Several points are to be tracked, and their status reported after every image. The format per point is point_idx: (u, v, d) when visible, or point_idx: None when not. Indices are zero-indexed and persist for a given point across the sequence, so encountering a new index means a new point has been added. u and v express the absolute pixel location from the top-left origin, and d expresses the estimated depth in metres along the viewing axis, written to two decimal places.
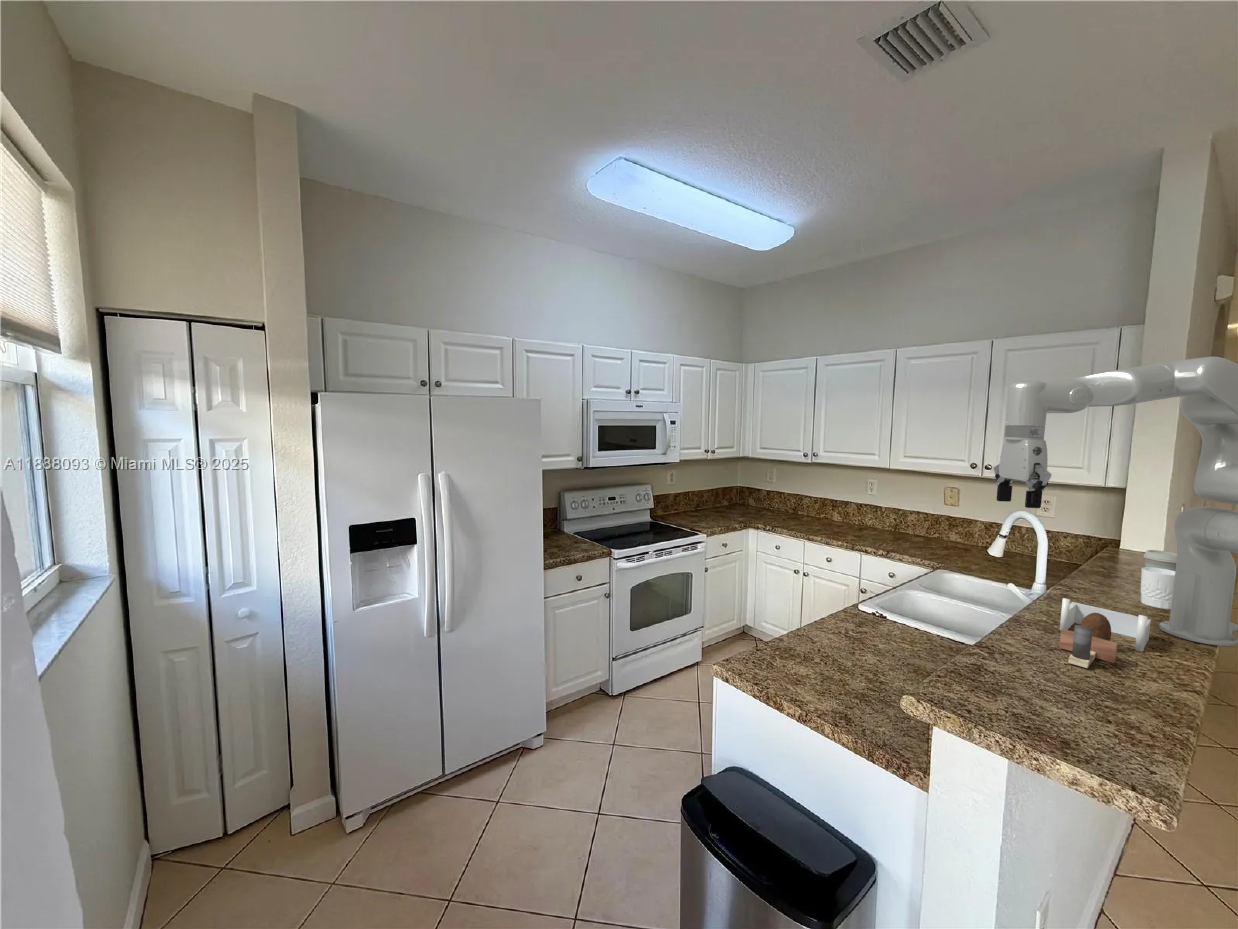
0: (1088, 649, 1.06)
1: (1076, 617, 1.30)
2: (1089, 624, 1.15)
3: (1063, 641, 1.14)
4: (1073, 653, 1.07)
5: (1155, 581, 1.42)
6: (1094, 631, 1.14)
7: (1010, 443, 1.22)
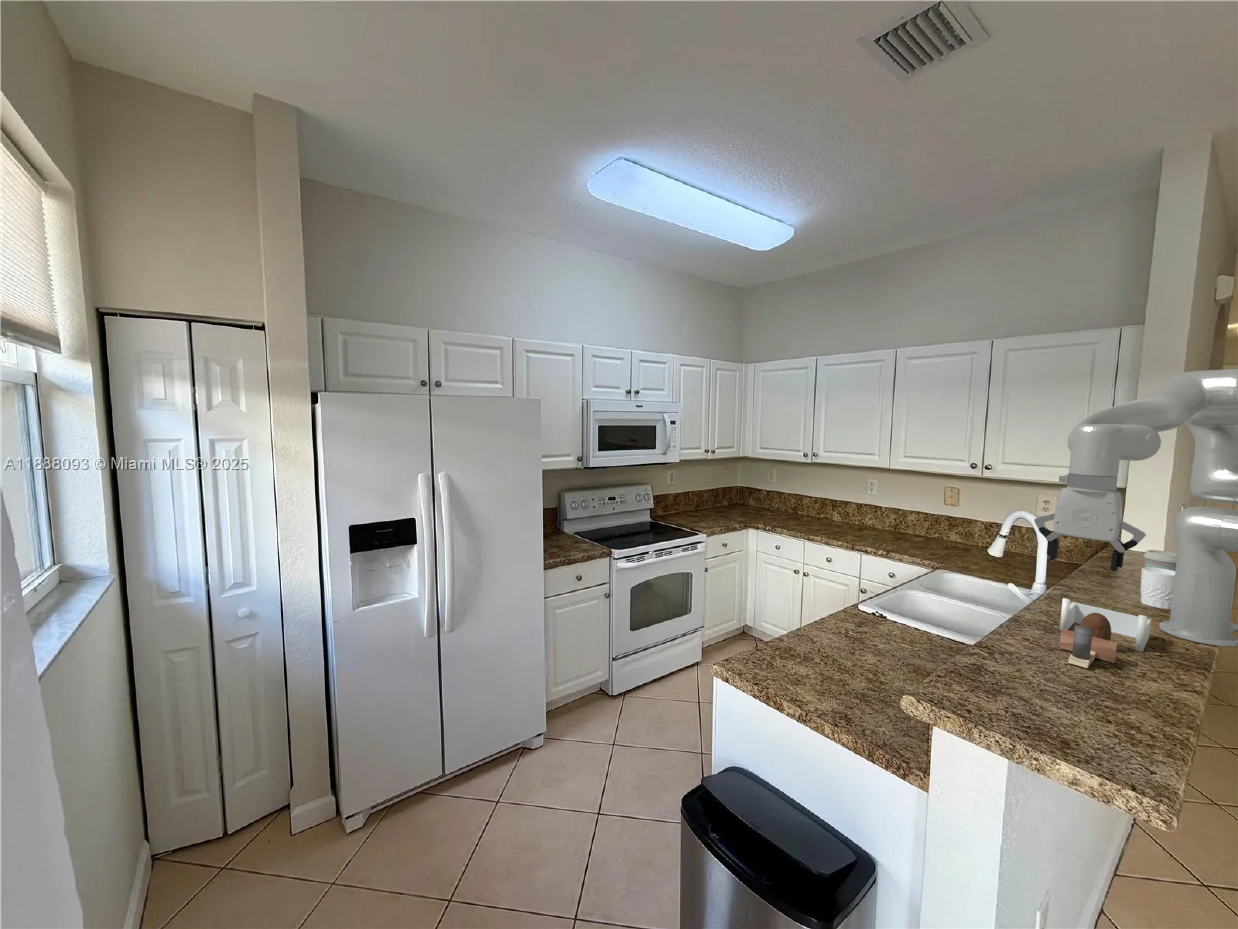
0: (1088, 649, 1.06)
1: (1076, 617, 1.30)
2: (1089, 624, 1.15)
3: (1063, 641, 1.14)
4: (1073, 653, 1.07)
5: (1155, 581, 1.42)
6: (1094, 631, 1.14)
7: None
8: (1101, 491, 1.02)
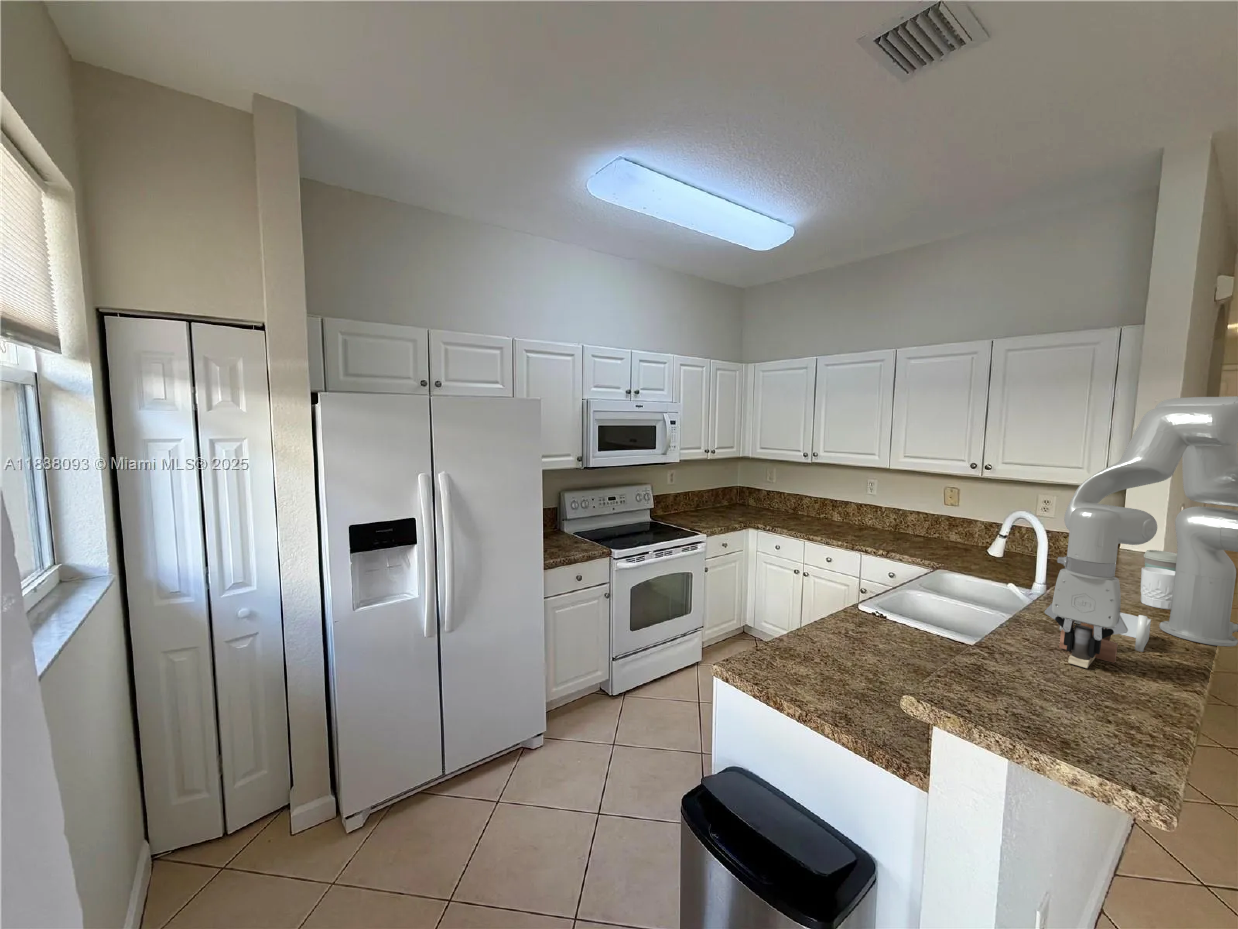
0: (1088, 649, 1.06)
1: None
2: (1089, 624, 1.15)
3: (1063, 641, 1.14)
4: (1073, 653, 1.07)
5: (1155, 581, 1.42)
6: None
7: None
8: (1099, 578, 1.02)
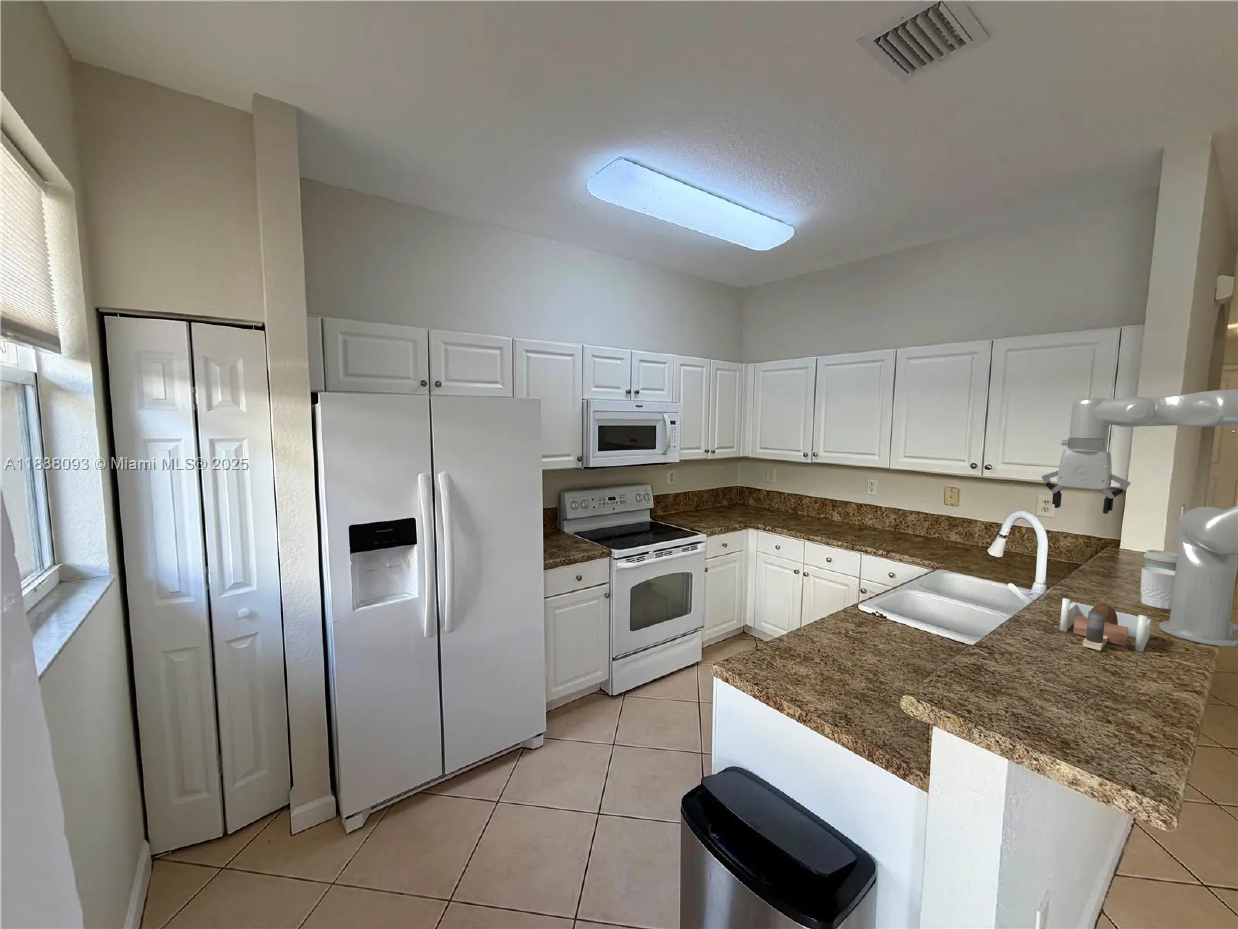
0: (1101, 633, 1.14)
1: None
2: None
3: (1077, 627, 1.22)
4: (1087, 637, 1.16)
5: (1155, 581, 1.42)
6: None
7: None
8: (1095, 450, 1.29)
